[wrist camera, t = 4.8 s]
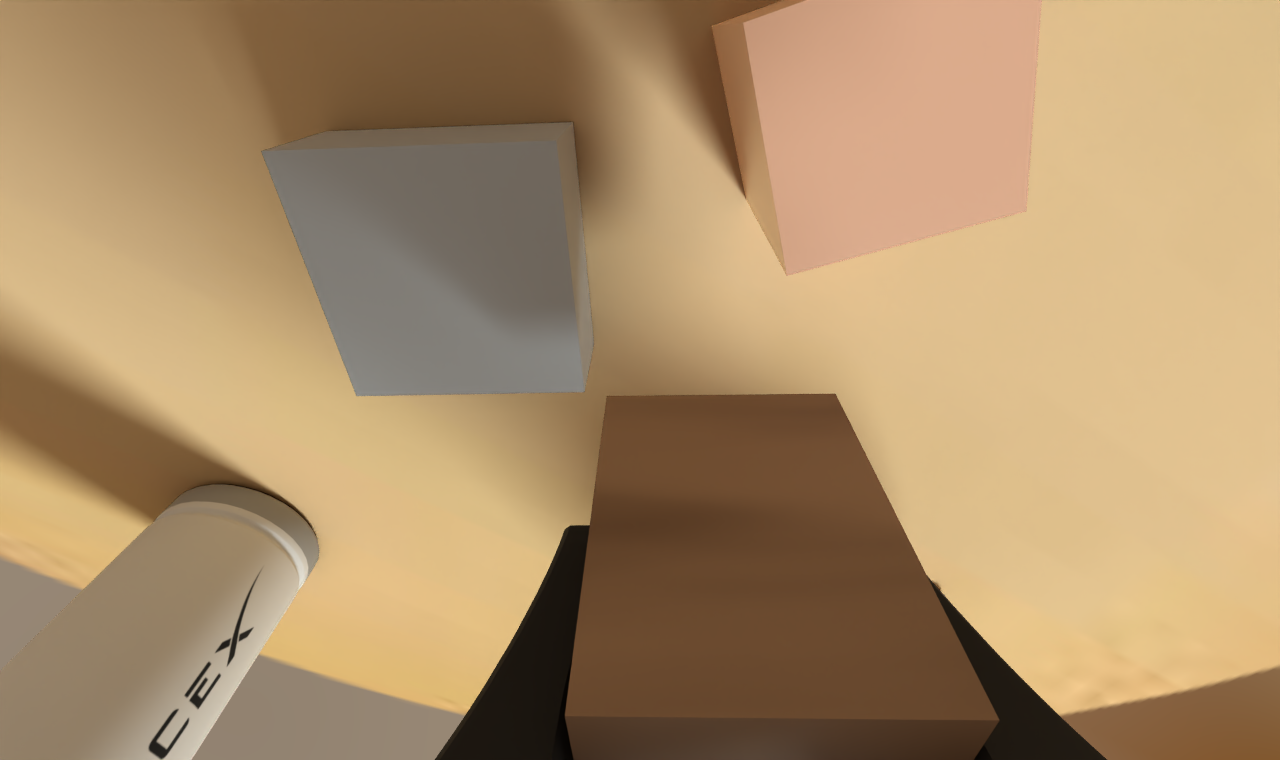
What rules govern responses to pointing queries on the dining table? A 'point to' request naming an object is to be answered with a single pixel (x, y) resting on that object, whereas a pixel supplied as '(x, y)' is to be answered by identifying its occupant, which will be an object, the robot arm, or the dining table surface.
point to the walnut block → (757, 596)
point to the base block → (445, 255)
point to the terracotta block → (879, 119)
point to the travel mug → (159, 633)
